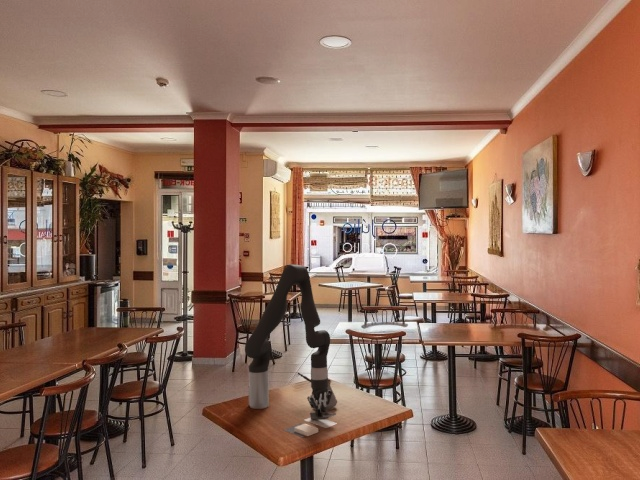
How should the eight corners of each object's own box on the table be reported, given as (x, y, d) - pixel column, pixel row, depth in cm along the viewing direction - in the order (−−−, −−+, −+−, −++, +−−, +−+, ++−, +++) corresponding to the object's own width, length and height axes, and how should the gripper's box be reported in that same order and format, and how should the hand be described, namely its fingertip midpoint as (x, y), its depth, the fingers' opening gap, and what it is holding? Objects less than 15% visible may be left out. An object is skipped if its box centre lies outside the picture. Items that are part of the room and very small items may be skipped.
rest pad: (303, 421, 228) (303, 420, 228) (315, 417, 233) (315, 415, 233) (326, 429, 218) (326, 428, 218) (337, 424, 223) (337, 423, 223)
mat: (283, 431, 217) (283, 429, 217) (300, 424, 224) (300, 423, 224) (302, 439, 208) (302, 437, 208) (320, 431, 215) (320, 430, 215)
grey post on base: (309, 420, 227) (308, 413, 228) (316, 417, 230) (314, 410, 231) (330, 419, 218) (328, 412, 219) (336, 417, 221) (335, 410, 222)
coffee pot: (341, 406, 247) (341, 374, 246) (329, 413, 237) (328, 381, 236) (304, 399, 258) (303, 369, 257) (291, 406, 248) (290, 375, 248)
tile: (294, 427, 215) (307, 432, 209) (305, 423, 219) (318, 428, 213) (294, 431, 215) (307, 436, 209) (305, 427, 219) (318, 432, 213)
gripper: (324, 371, 232) (325, 410, 233) (301, 378, 223) (303, 418, 223) (336, 374, 227) (337, 413, 227) (313, 381, 217) (315, 422, 218)
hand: (320, 416), depth 225 cm, fingers closed on grey post on base, 2 cm apart
